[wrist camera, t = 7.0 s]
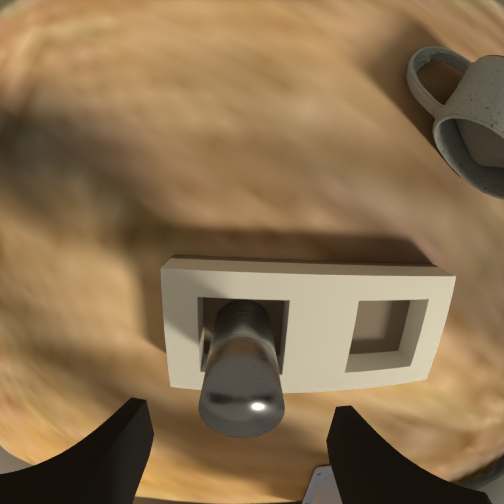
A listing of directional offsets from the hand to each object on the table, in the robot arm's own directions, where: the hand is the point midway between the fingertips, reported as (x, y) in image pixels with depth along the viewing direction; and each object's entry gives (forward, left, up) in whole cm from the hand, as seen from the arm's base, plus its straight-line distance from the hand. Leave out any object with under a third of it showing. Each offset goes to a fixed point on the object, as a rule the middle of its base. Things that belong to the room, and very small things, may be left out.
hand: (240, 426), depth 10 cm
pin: (0, 0, -9) cm, 9 cm away
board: (0, -4, -10) cm, 11 cm away
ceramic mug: (+15, -15, -10) cm, 24 cm away
